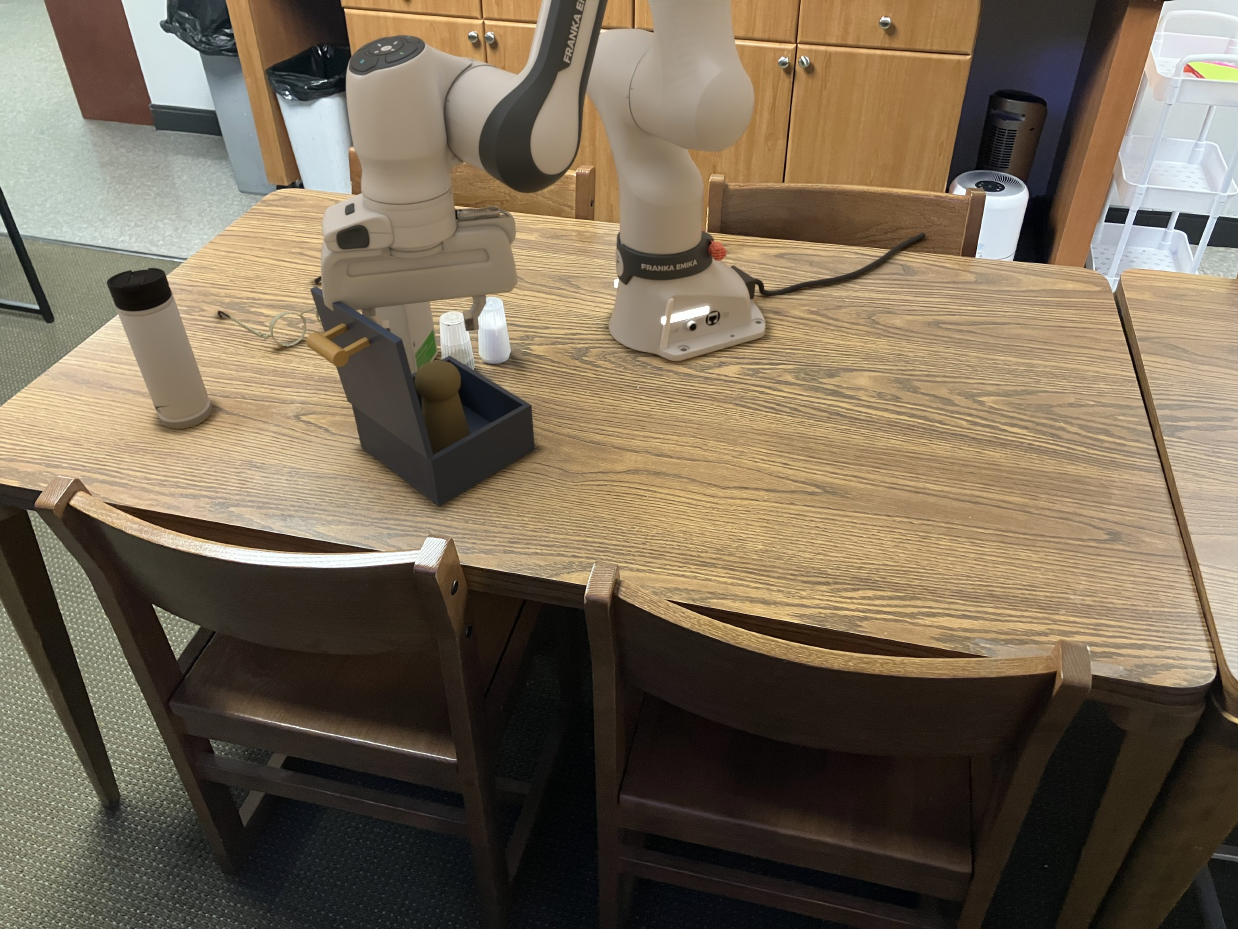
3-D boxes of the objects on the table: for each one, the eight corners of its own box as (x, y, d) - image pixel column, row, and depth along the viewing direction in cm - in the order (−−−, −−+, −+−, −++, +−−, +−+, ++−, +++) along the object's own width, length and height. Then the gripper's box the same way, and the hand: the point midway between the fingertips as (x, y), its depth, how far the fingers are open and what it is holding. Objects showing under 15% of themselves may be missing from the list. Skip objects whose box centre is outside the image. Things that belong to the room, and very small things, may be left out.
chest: (455, 399, 121) (449, 355, 116) (535, 450, 112) (531, 404, 108) (361, 448, 113) (351, 403, 108) (439, 507, 104) (431, 460, 100)
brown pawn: (448, 423, 115) (437, 347, 108) (483, 442, 112) (473, 365, 105) (411, 446, 112) (397, 369, 105) (445, 466, 109) (433, 389, 102)
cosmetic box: (418, 385, 123) (400, 279, 113) (371, 380, 124) (349, 274, 114) (440, 352, 129) (424, 248, 120) (395, 347, 130) (376, 244, 121)
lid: (316, 285, 98) (272, 307, 95) (402, 339, 90) (357, 364, 87) (353, 398, 108) (315, 420, 106) (433, 455, 100) (394, 481, 97)
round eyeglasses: (259, 358, 128) (250, 327, 125) (214, 317, 137) (204, 286, 134) (368, 316, 137) (362, 286, 134) (319, 280, 146) (312, 250, 143)
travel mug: (157, 435, 115) (99, 290, 102) (163, 405, 120) (108, 263, 107) (211, 426, 116) (160, 282, 103) (214, 397, 121) (166, 256, 108)
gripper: (509, 192, 98) (518, 308, 107) (308, 211, 94) (334, 330, 103) (518, 216, 93) (527, 336, 102) (307, 238, 89) (335, 360, 98)
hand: (428, 333), depth 102 cm, fingers open, 8 cm apart
